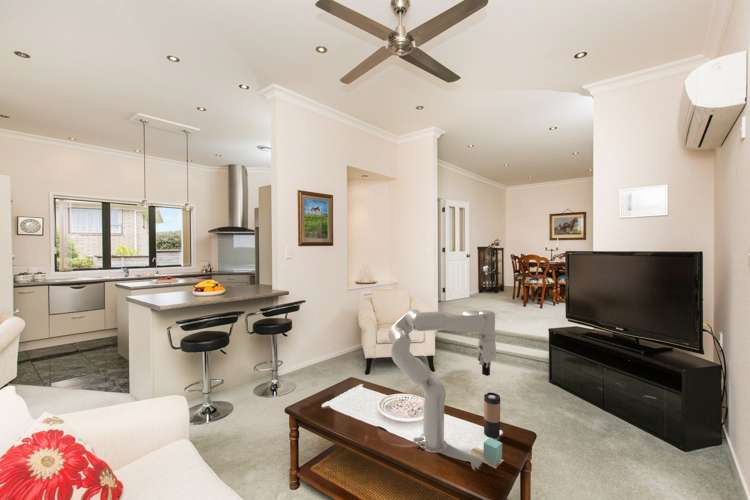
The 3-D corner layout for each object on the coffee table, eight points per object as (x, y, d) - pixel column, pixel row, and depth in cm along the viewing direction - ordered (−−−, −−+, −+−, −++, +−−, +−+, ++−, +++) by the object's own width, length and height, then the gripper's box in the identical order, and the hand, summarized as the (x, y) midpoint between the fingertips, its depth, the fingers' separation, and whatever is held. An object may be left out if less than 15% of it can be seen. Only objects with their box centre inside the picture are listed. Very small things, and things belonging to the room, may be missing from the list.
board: (495, 470, 142) (495, 468, 142) (466, 455, 152) (466, 453, 152) (503, 461, 147) (503, 460, 147) (475, 447, 157) (475, 446, 157)
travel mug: (501, 441, 162) (501, 400, 162) (484, 439, 164) (485, 398, 163) (498, 432, 170) (499, 393, 169) (482, 430, 171) (483, 391, 171)
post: (495, 465, 144) (495, 449, 143) (484, 460, 147) (485, 444, 147) (500, 460, 147) (500, 445, 147) (490, 455, 150) (490, 440, 150)
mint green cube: (495, 463, 143) (495, 448, 143) (483, 457, 147) (483, 442, 147) (501, 457, 147) (502, 442, 147) (489, 451, 151) (490, 437, 151)
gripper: (485, 341, 153) (485, 381, 154) (501, 335, 164) (500, 372, 164) (471, 338, 159) (470, 376, 159) (487, 332, 169) (486, 368, 170)
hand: (486, 374), depth 162 cm, fingers closed
